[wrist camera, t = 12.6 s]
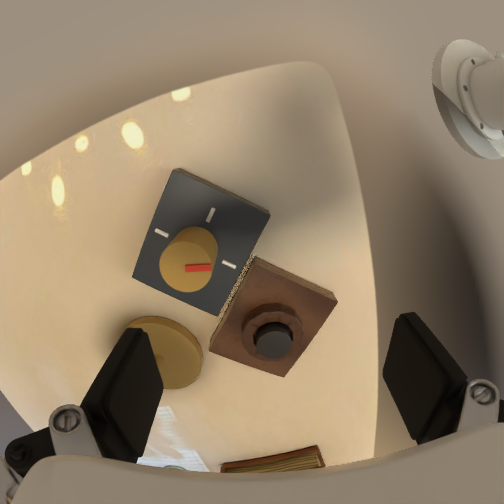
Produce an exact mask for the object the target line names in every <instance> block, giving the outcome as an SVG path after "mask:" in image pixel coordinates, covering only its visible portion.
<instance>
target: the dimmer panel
mask: <svg viewBox="0 0 504 504" xmlns="http://www.w3.org/2000/svg"><path fill="white" fill-rule="evenodd" d="M269 218H270V213H269V211H268V210H266V209H264V208H262V207H260V206H258V205H256V204H254V203H252V202H250V201H248V200H246V199H244V198H242V197H240V196H238V195H236V194H234V193H231V192H229V191H227V190H225V189H223V188H221V187H219V186H217V185H214V184H212V183H210V182H208V181H206V180H204V179H202V178H199V177H197V176H195V175H193V174H191V173H188V172H186V171H184V170H182V169H180V168H179V169H174V170H173V171H172V173H171V175H170V178H169V180H168V182H167V185H166V187H165V189H164V192H163V194H162V197H161V199H160V201H159V204H158V206H157V209H156V211H155V214H154V216H153V219H152V222H151V224H150V227H149V229H148V232H147V235H146V238H145V240H144V243H143V246H142V249H141V251H140V254H139V257H138V260H137V263H136V266H135V269H134V272H133V275H132V278H134V279H136V280H138V281H140V282H142V283H144V284H146V285H149V286H151V287H153V288H155V289H157V290H159V291H161V292H163V293H165V294H168V295H170V296H172V297H174V298H176V299H178V300H181V301H183V302H185V303H187V304H189V305H192V306H194V307H196V308H199V309H201V310H203V311H205V312H208V313H210V314H212V315H215V316H218V315H219V313H220V311H221V309H222V307H223V305H224V303H225V301H226V300H227V298H228V296H229V294H230V292H231V290H232V288H233V286H234V284H235V282H236V281H237V279H238V277H239V275H240V273H241V271H242V269H243V267H244V265H245V263H246V262H247V260H248V258H249V256H250V254H251V252H252V250H253V248H254V246H255V244H256V243H257V241H258V239H259V237H260V235H261V233H262V231H263V229H264V227H265V225H266V223H267V222H268V220H269ZM192 226H197V227H202V228H204V229H206V230H208V231H209V232H210V233H211V234H212V235H213V236H214V238H215V239H216V242H217V245H218V254H217V257H216V261H215V265H214V268H213V272H212V276H211V278H210V280H209V282H208V283H207V284H206V285H205V286H204V287H203V288H201V289H200V290H197V291H194V292H182V291H178V290H176V289H174V288H172V287H171V286H170V285H168V284H167V283H166V281H165V280H164V279H163V277H162V275H161V272H160V267H159V262H160V257H161V255H162V253H163V251H164V250H165V249H166V247H167V246H168V245H169V244H170V242H171V241H172V240H173V239H174V238H175V236H176V235H177V234H178V233H179V232H180V231H181V230H183V229H185V228H187V227H192Z"/></svg>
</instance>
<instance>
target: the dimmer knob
mask: <svg viewBox="0 0 504 504" xmlns="http://www.w3.org/2000/svg"><path fill="white" fill-rule="evenodd" d="M217 254H218V245H217V242H216V239H215V238H214V236H213V235H212V234H211V233H210V232H209V231H208V230H206V229H204V228H202V227H197V226H192V227H187V228H185V229H183V230H181V231H180V232H179V233H178V234H177V235H176V236H175V238H174V239H173V240H172V241H171V242H170V244H169V245H168V246H167V247H166V249H165V250H164V251H163V253H162V255H161V257H160V262H159V267H160V272H161V275H162V277H163V279H164V280H165V281H166V283H167V284H168V285H170V286H171V287H172V288H174V289H176V290H178V291H182V292H194V291H197V290H200V289H201V288H203V287H204V286H205V285H206V284H207V283H208V282H209V280H210V278H211V276H212V272H213V268H214V265H215V261H216V257H217Z"/></svg>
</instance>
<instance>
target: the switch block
mask: <svg viewBox="0 0 504 504" xmlns="http://www.w3.org/2000/svg"><path fill="white" fill-rule="evenodd" d="M337 303H338V301H337V299H336V298H335V296H334V294H333V293H332V292H330V291H327V290H325V289H323V288H321V287H319V286H317V285H314V284H312V283H310V282H308V281H306V280H304V279H301V278H299V277H297V276H295V275H293V274H291V273H289V272H286V271H284V270H282V269H280V268H278V267H276V266H273V265H271V264H269V263H267V262H265V261H263V260H261V259H258V258H256V257H255V258H254V260H253V262H252V264H251V266H250V268H249V270H248V272H247V273H246V275H245V277H244V279H243V281H242V283H241V285H240V287H239V288H238V290H237V292H236V294H235V296H234V298H233V300H232V301H231V303H230V305H229V307H228V309H227V311H226V313H225V314H224V316H223V318H222V320H221V322H220V324H219V326H218V328H217V329H216V331H215V333H214V335H213V337H212V339H211V341H210V347H209V351H210V352H213V353H215V354H218V355H220V356H223V357H226V358H228V359H231V360H234V361H236V362H239V363H242V364H245V365H248V366H250V367H253V368H256V369H259V370H262V371H265V372H268V373H271V374H274V375H277V376H281V377H285V375H286V374H287V373H288V372H289V370H290V369H291V368H292V366H293V365H294V364H295V362H296V361H297V360H298V358H299V357H300V356H301V354H302V353H303V352H304V350H305V349H306V348H307V346H308V345H309V343H310V342H311V341H312V339H313V338H314V336H315V335H316V334H317V332H318V331H319V329H320V328H321V326H322V325H323V324H324V322H325V321H326V319H327V318H328V316H329V315H330V313H331V312H332V310H333V309H334V307H335V306H336V304H337ZM270 322H278V323H281V324H283V325H285V326H286V327H287V328H288V330H289V332H290V336H291V341H292V347H291V350H290V351H289V352H288V353H287V354H286V355H285V356H283V357H281V358H278V359H268V358H265V357H263V356H261V355H260V354H259V352H258V351H257V348H256V333H257V331H258V329H259V328H260V327H261V326H263V325H264V324H266V323H270Z"/></svg>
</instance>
